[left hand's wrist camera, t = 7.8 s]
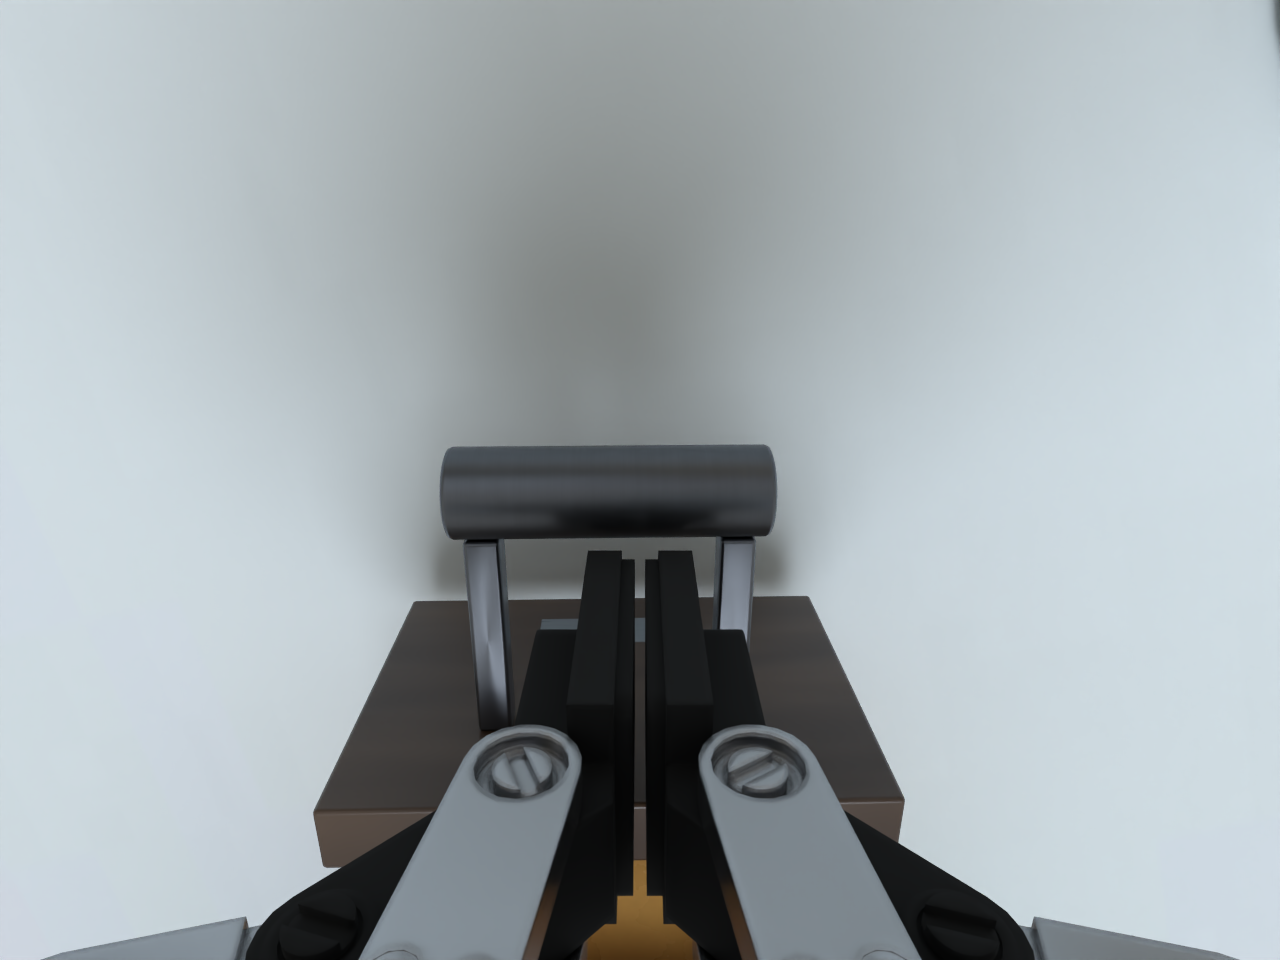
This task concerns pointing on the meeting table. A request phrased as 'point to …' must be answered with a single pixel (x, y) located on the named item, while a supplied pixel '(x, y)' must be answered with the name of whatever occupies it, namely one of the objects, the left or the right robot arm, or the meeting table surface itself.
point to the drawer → (505, 629)
